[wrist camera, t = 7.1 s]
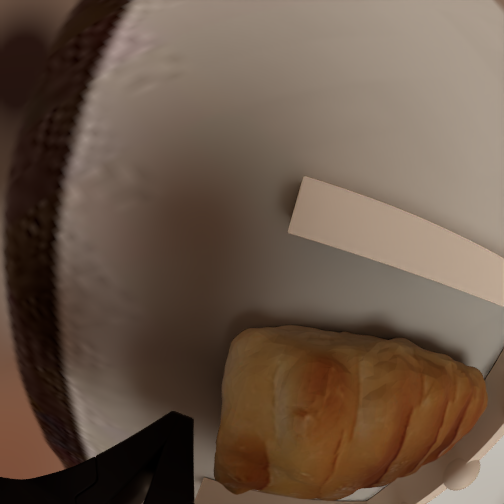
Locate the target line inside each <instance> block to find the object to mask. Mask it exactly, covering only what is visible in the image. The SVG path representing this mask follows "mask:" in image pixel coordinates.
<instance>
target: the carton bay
mask: <svg viewBox="0 0 504 504" xmlns="http://www.w3.org/2000/svg"><path fill="white" fill-rule="evenodd" d="M288 233H290V234H293V235H297V236H300V237H303V238H306V239H310V240H313V241H316V242H319V243H323V244H326V245H329V246H332V247H335V248H338V249H341V250H345V251H348V252H351V253H354V254H357V255H360V256H363V257H366V258H369V259H372V260H375V261H378V262H381V263H384V264H387V265H390V266H393V267H396V268H399V269H402V270H405V271H408V272H410V273H413V274H416V275H419V276H422V277H425V278H428V279H430V280H433V281H436V282H439V283H442V284H444V285H447V286H450V287H453V288H455V289H458V290H461V291H463V292H466V293H469V294H471V295H474V296H477V297H479V298H482V299H485V300H487V301H490V302H492V303H495V304H498V305H500V306H503V307H504V258H502V257H500V256H499V255H497V254H495V253H493V252H491V251H489V250H488V249H486V248H484V247H482V246H480V245H478V244H476V243H474V242H472V241H470V240H468V239H466V238H464V237H462V236H460V235H458V234H456V233H454V232H451V231H449V230H447V229H445V228H443V227H441V226H438V225H436V224H434V223H432V222H429V221H427V220H425V219H422V218H420V217H418V216H415V215H413V214H411V213H408V212H406V211H403V210H401V209H398V208H396V207H393V206H391V205H388V204H386V203H383V202H380V201H378V200H375V199H372V198H369V197H367V196H364V195H361V194H358V193H355V192H353V191H350V190H347V189H344V188H341V187H338V186H335V185H332V184H329V183H326V182H322V181H319V180H316V179H313V178H310V177H306V176H304V177H303V179H302V182H301V186H300V189H299V193H298V196H297V200H296V203H295V207H294V210H293V214H292V217H291V221H290V225H289V229H288ZM484 381H485V383H486V392H487V394H488V402H487V407H486V409H485V411H484V412H483V414H482V415H481V416H480V418H479V419H478V421H477V422H476V424H475V425H474V427H473V428H472V430H471V431H470V432H469V433H467V434H466V435H465V436H463V437H462V439H461V440H460V441H458V442H457V443H456V444H455V445H454V447H453V448H452V449H451V450H449V451H448V452H447V453H446V454H444V455H443V456H441V457H440V458H438V459H437V460H435V461H433V462H430V463H428V464H426V465H423V466H421V468H420V469H419V470H418V471H417V472H416V473H414V474H411V475H409V476H406V477H402V478H397V479H396V480H395V481H393V482H392V483H390V484H389V485H388V486H387V487H385V488H384V489H383V490H381V491H380V492H379V493H377V494H376V495H375V496H373V497H372V498H371V499H369V500H368V501H323V500H310V499H298V498H292V497H285V496H279V495H273V494H267V493H262V492H257V491H252V490H249V491H247V492H245V493H242V494H238V495H235V494H233V493H231V492H230V491H228V490H227V489H226V488H225V487H224V486H223V485H222V484H220V483H219V482H218V481H214V480H211V479H208V478H205V477H204V479H203V481H202V484H201V486H200V489H199V491H198V494H197V496H196V499H195V502H194V503H195V504H427V503H428V502H430V501H431V500H432V499H434V498H435V497H436V496H438V495H439V494H440V493H442V492H443V491H444V490H446V489H447V488H448V489H450V490H461V489H464V488H466V487H467V486H469V485H470V484H471V483H472V482H473V481H474V480H475V479H476V477H477V476H478V473H479V470H480V462H479V460H480V459H481V458H482V457H483V456H484V455H485V454H486V453H487V452H488V451H489V450H490V449H491V448H492V447H493V446H494V445H495V444H496V443H497V442H498V441H499V439H500V438H501V437H502V436H503V435H504V349H503V351H502V353H501V354H500V356H499V358H498V360H497V361H496V363H495V365H494V366H493V368H492V370H491V371H490V373H489V374H488V376H487V377H486V379H485V380H484Z"/></svg>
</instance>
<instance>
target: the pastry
mask: <svg viewBox="0 0 504 504" xmlns="http://www.w3.org/2000/svg"><path fill="white" fill-rule="evenodd" d="M222 400H223V403H222V408H221V422H220V427H219V430H218V435H217V440H216V453H215V463H214V477H215V480H216V481H218V482H219V483H220V484H222V485H223V486H224V487H225V488H226V489H227V490H228V491H230V492H231V493H233V494H235V495H238V494H242V493H245V492H247V491H249V490H259V491H262V492H265V493H268V494H276V495H282V496H287V497H292V498H298V499H315V498H317V499H321V500H325V501H334V500H338V499H342V498H344V497H347V496H349V495H351V494H353V493H354V492H355V491H356V490H358V489H361V488H372V487H380V486H384V485H386V484H389V483H391V482H393V481H395V480H396V479H397V478H402V477H406V476H409V475H411V474H414V473H416V472H417V471H418V470H419V469H420V468H421V466H423V465H426V464H428V463H430V462H433V461H435V460H437V459H438V458H440V457H441V456H443V455H444V454H446V453H447V452H448V451H449V450H451V449H452V448H453V447H454V445H455V444H456V443H457V442H458V441H460V440H461V439H462V437H463V436H465V435H466V434H467V433H469V432H470V431H471V430H472V428H473V427H474V425H475V424H476V422H477V421H478V419H479V418H480V416H481V415H482V414H483V412H484V411H485V409H486V407H487V402H488V394H487V392H486V383H485V381H484V379H483V375H482V373H481V372H480V371H479V370H478V369H477V368H475V367H471V366H466V365H464V364H463V363H461V362H458V361H454V360H453V359H452V358H451V357H449V356H448V355H446V354H441V353H435V352H431V351H428V350H425V349H422V348H420V347H419V346H417V345H415V344H414V343H412V342H411V341H409V340H408V339H405V338H393V339H391V340H386V339H383V338H378V337H375V336H371V335H358V334H353V333H350V332H344V331H343V332H341V333H338V332H333V331H323V330H319V329H317V328H312V327H304V326H297V325H285V326H279V327H275V328H273V327H264V328H249V329H246V330H244V331H243V332H241V333H240V334H239V335H238V336H236V337H235V338H234V339H233V341H232V342H231V345H230V348H229V352H228V357H227V361H226V364H225V368H224V377H223V380H222Z"/></svg>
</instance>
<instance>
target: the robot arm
mask: <svg viewBox="0 0 504 504" xmlns="http://www.w3.org/2000/svg"><path fill="white" fill-rule="evenodd" d="M193 437H194V419H193V418H191V417H189V416H186V415H183V414H181V413H178V412H176V411H171V412H169V413H168V414H166V415H165V416H163V417H162V418H160V419H159V420H157V421H155V422H154V423H152V424H151V425H149V426H147V427H146V428H144V429H142V430H141V431H139V432H137V433H136V434H134V435H132V436H131V437H129V438H127V439H126V440H124V441H122V442H120V443H119V444H117V445H115V446H113V447H111V448H110V449H108V450H106V451H104V452H102V453H100V454H99V455H97V456H96V457H93V458H91V459H89V460H87V461H85V462H83V463H80V464H78V465H76V466H74V467H71V468H68V469H65V470H62V471H59V472H56V473H52V474H48V475H44V476H40V477H36V478H32V479H23V480H20V479H10V478H3V477H0V504H142V503H143V501H144V503H143V504H195V503H194V462H193Z"/></svg>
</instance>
